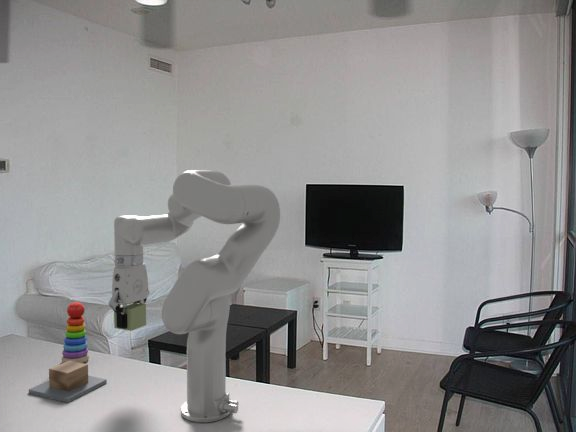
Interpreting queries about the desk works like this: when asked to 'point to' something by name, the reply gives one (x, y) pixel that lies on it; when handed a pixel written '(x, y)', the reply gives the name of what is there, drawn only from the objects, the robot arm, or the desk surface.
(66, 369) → the walnut block
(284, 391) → the desk surface
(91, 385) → the baseplate
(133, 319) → the olive block
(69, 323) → the stacking toy
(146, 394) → the desk surface
